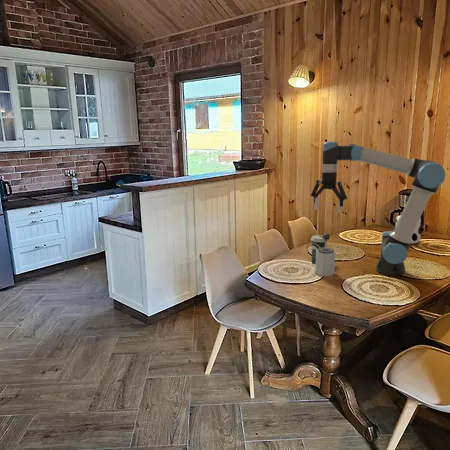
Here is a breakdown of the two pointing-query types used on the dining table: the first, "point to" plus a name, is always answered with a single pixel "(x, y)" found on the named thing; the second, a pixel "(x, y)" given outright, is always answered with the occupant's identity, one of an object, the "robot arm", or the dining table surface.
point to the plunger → (326, 236)
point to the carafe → (324, 261)
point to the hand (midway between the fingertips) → (327, 210)
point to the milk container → (416, 233)
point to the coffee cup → (317, 242)
